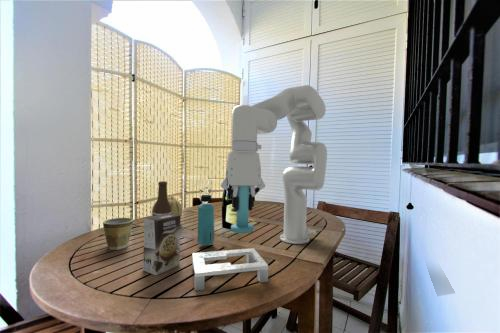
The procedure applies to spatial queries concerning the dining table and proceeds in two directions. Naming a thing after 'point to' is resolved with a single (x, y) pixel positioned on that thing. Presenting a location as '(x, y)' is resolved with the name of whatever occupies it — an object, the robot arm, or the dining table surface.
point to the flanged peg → (242, 212)
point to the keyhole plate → (227, 265)
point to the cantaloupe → (173, 206)
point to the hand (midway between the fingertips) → (242, 209)
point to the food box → (161, 243)
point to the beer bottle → (162, 201)
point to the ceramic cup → (117, 232)
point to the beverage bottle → (206, 222)
